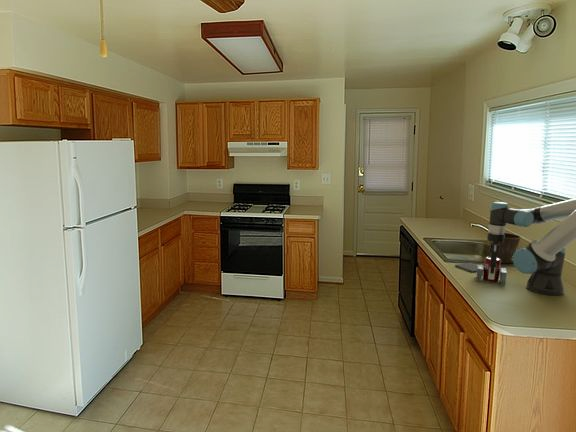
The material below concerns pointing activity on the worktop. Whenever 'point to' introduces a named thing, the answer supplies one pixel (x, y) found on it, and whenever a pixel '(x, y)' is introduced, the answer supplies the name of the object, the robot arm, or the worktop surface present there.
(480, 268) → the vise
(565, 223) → the robot arm
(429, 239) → the worktop surface
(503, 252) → the plant pot
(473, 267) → the rubber mat
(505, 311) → the worktop surface
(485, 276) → the soda can
